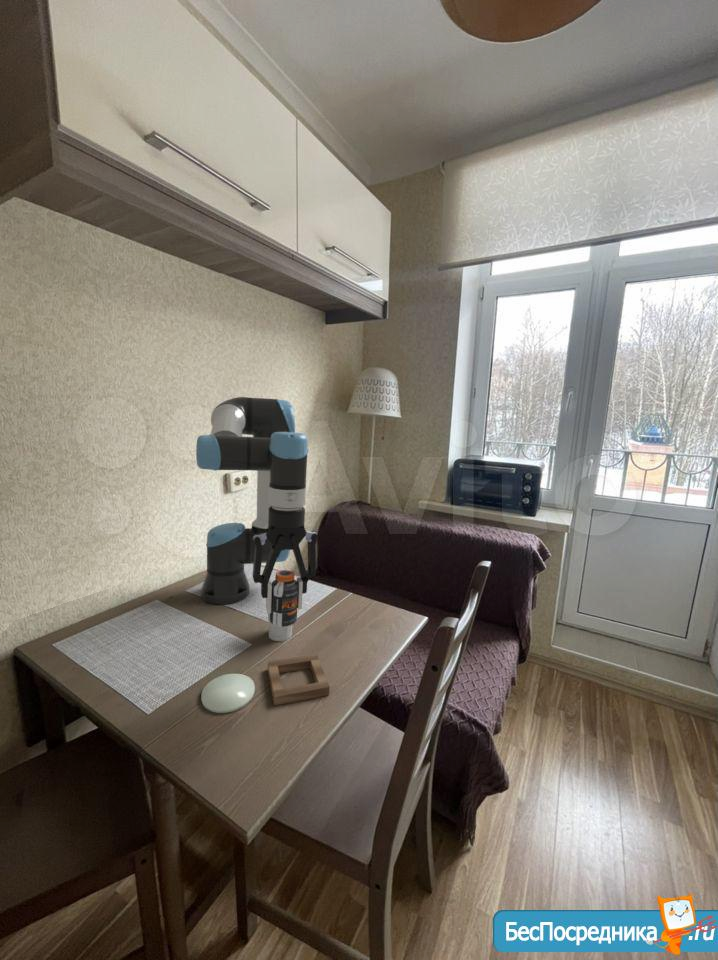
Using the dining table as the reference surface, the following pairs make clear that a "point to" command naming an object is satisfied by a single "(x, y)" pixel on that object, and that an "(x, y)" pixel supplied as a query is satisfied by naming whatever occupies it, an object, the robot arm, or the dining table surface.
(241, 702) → the pale green rounded part
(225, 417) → the robot arm
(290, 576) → the pill bottle
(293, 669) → the open wooden frame
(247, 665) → the dining table surface
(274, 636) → the cup
